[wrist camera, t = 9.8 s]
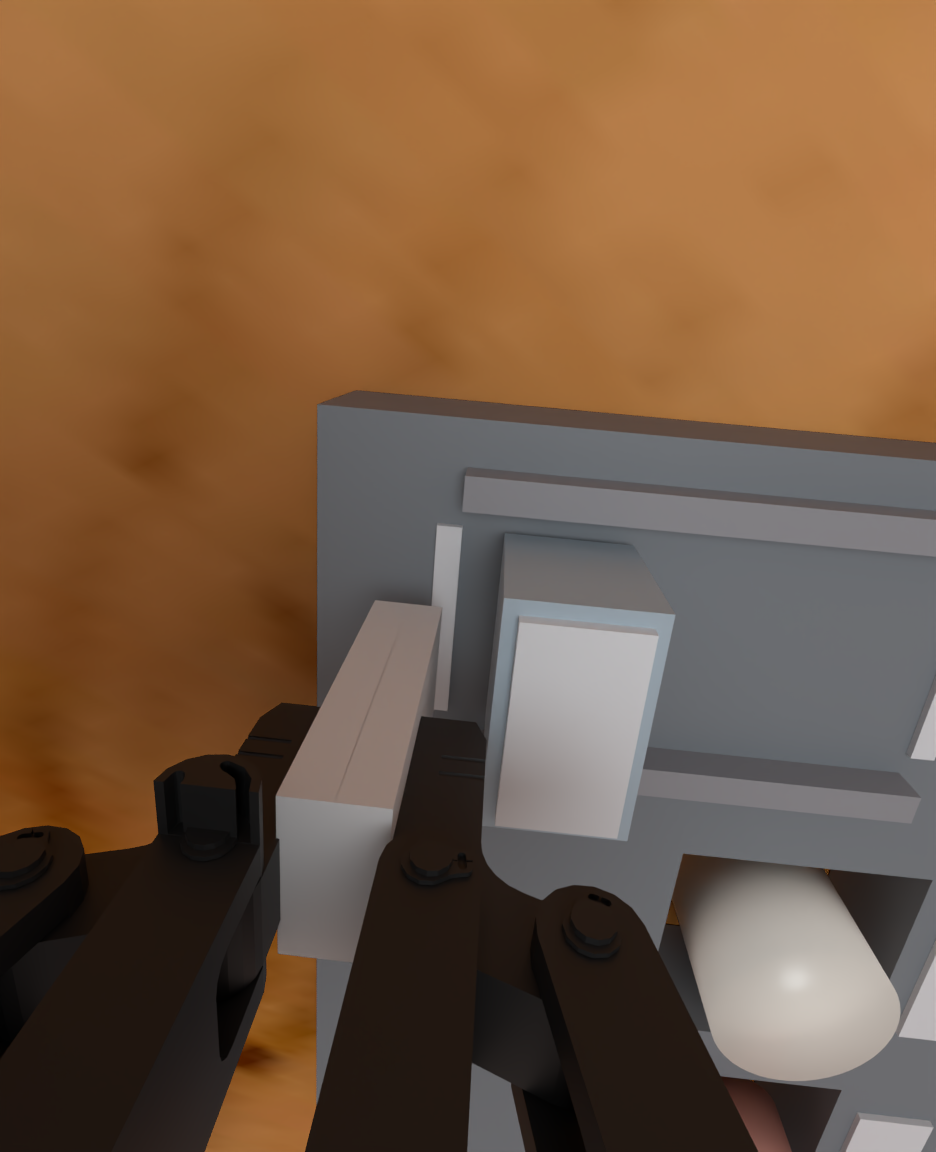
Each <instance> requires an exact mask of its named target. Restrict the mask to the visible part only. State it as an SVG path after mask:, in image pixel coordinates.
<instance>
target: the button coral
mask: <svg viewBox="0 0 936 1152" xmlns="http://www.w3.org/2000/svg"><path fill="white" fill-rule="evenodd" d="M721 1078H722V1080H723V1082H724V1084H725V1086H726V1088H727V1090H728V1092H729V1094H730V1096H731V1098H732V1100H733V1102H734V1104H735V1106H736V1108H737V1110H738V1112H739V1114H740V1116H741V1118H742V1120H743V1122H744V1124H745V1126H746V1128H747V1130H748V1132H749V1134H750V1136H751V1138H752V1140H753V1142H754V1144H755V1146H756V1148H757V1150H758V1152H792V1151H791V1148H790V1145H789V1142H788V1139H787V1136H786V1133H785V1131H784V1128H783V1125H782V1122H781V1119H780V1116H779V1113H778V1110H777V1108H776V1105H775V1102H774V1101H773V1099H772V1097H771V1096H770V1095H769V1094H768V1092H767V1091H765V1090H764V1089H763V1088H762V1087H761V1086H759V1085H758V1084H756V1083H754V1082H752V1081H750V1080H748V1079H741V1078H732V1077H724V1076H721Z"/></svg>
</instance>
